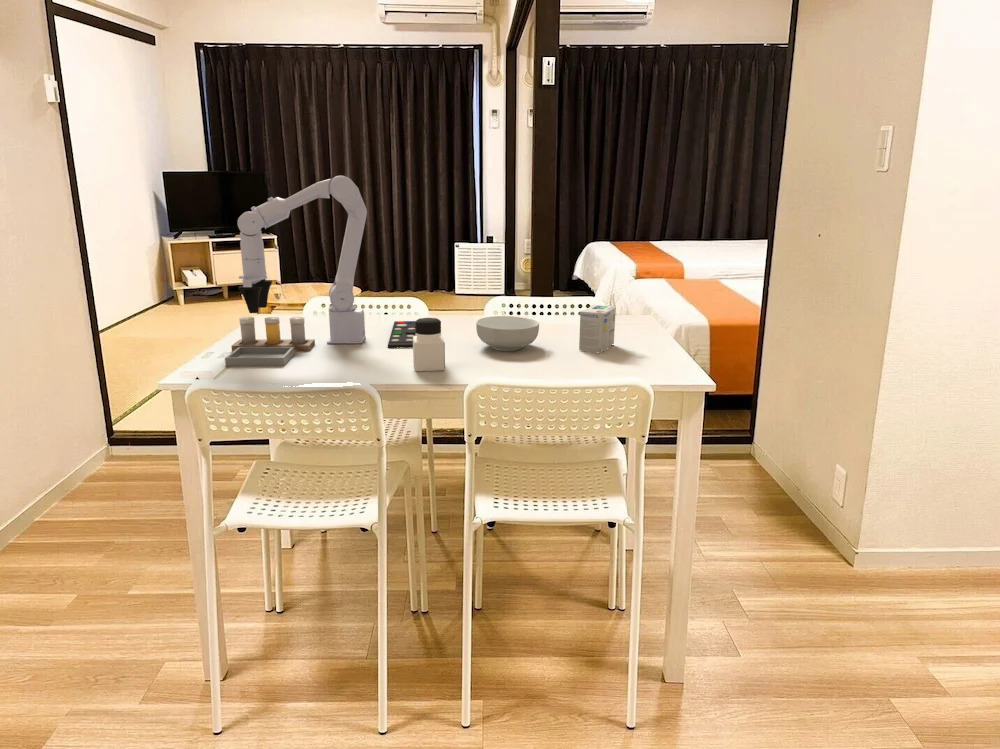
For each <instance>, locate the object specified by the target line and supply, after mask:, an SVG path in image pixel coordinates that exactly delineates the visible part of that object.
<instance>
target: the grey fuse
mask: <svg viewBox="0 0 1000 749" xmlns="http://www.w3.org/2000/svg"><path fill="white" fill-rule="evenodd" d="M289 324H290V334H291V339H292V344H306V342H305V339H306V332H305V317H303V316H302V317H301V316H294V317H290V318H289Z"/></svg>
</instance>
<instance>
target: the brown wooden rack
mask: <svg viewBox="0 0 1000 749" xmlns="http://www.w3.org/2000/svg"><path fill="white" fill-rule="evenodd" d="M305 342H306V344H292V338H291V339H288V338H287V339H286V338H285V339H284V338H283V339H282V338H281V344H267V338H266V339H264V338H263V339H259V338H258V339H257V338H256V344H242V338H241V339H238V340H237V341H235V342H234V343H233V344H231V352H233V351H234V350H236V349H237V348H238V347H294V349H295V352H310V351H311V350H312V349H313V348H314V346H315V345H316V340H315V338H311V339H309V338H305Z"/></svg>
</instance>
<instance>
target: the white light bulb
mask: <svg viewBox="0 0 1000 749" xmlns="http://www.w3.org/2000/svg"><path fill="white" fill-rule="evenodd" d="M239 325H240V326H239V328H240V335H241V339H242V344H256V339H257V338H256V337H257V336H256V329H255V328H256V327H255V317H254V316H245V317H244V316H243V317H240V318H239Z"/></svg>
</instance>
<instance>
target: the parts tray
mask: <svg viewBox="0 0 1000 749" xmlns="http://www.w3.org/2000/svg"><path fill="white" fill-rule="evenodd" d="M295 355H296V351H295V349H294V347H238V348H237V349H236V350H234V351H231V352H230V353H229V354H227V356H225V357H224V364H225V367H257V366H258V367H262V366H263V367H268V366H269V367H271V366H272V367H280V366H281V367H284V366H286V365H287V364H288V363H289V362H290V360H291V359H292V358H294V356H295Z"/></svg>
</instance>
